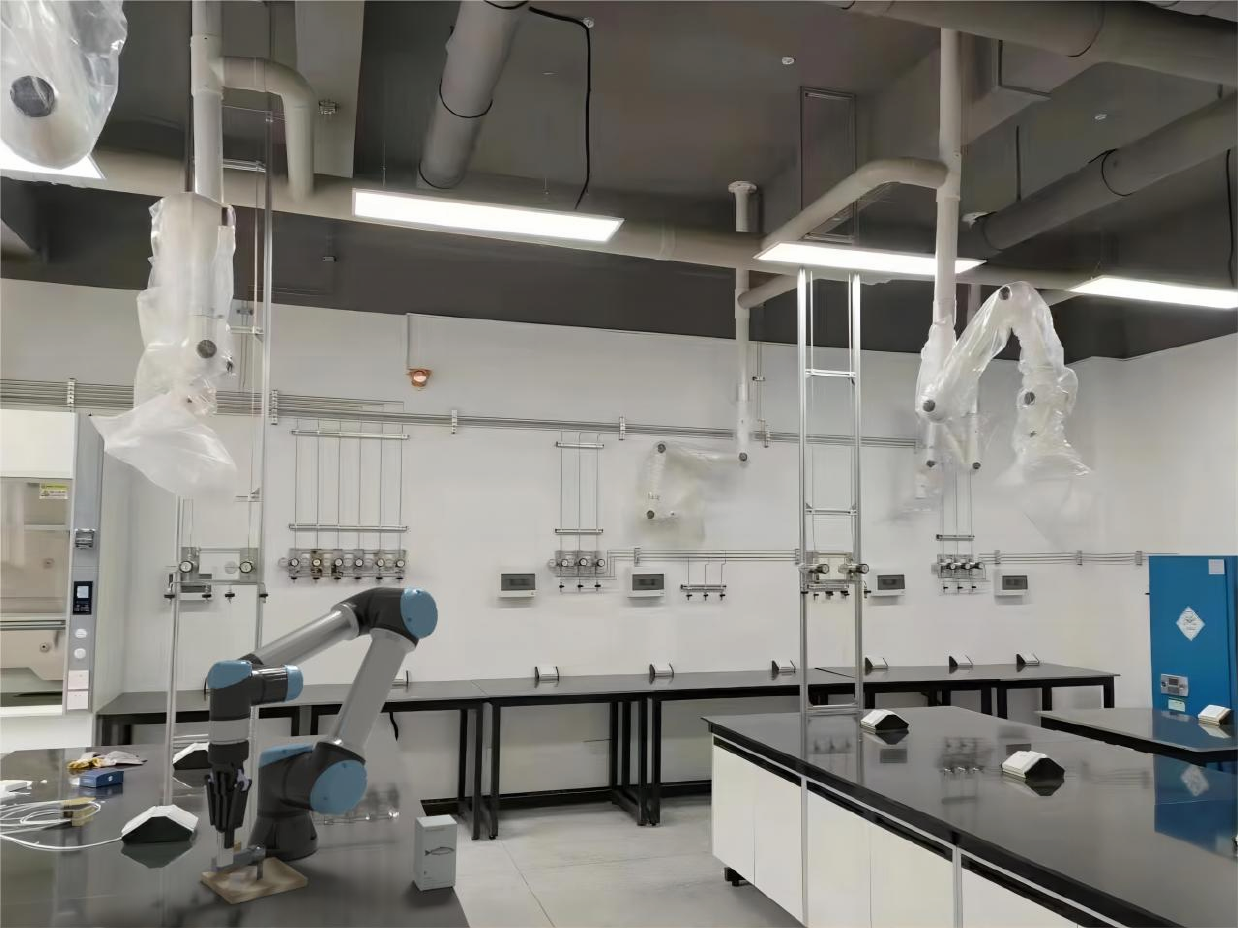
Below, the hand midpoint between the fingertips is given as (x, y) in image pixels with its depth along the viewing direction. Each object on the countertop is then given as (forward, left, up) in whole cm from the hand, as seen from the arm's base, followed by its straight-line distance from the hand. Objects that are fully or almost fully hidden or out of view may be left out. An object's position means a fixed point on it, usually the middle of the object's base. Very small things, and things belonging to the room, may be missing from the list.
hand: (224, 864), depth 180 cm
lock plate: (-8, -5, -6) cm, 11 cm away
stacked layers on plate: (+9, -74, -7) cm, 75 cm away
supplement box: (-35, +20, -7) cm, 41 cm away
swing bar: (-4, -2, -1) cm, 5 cm away
